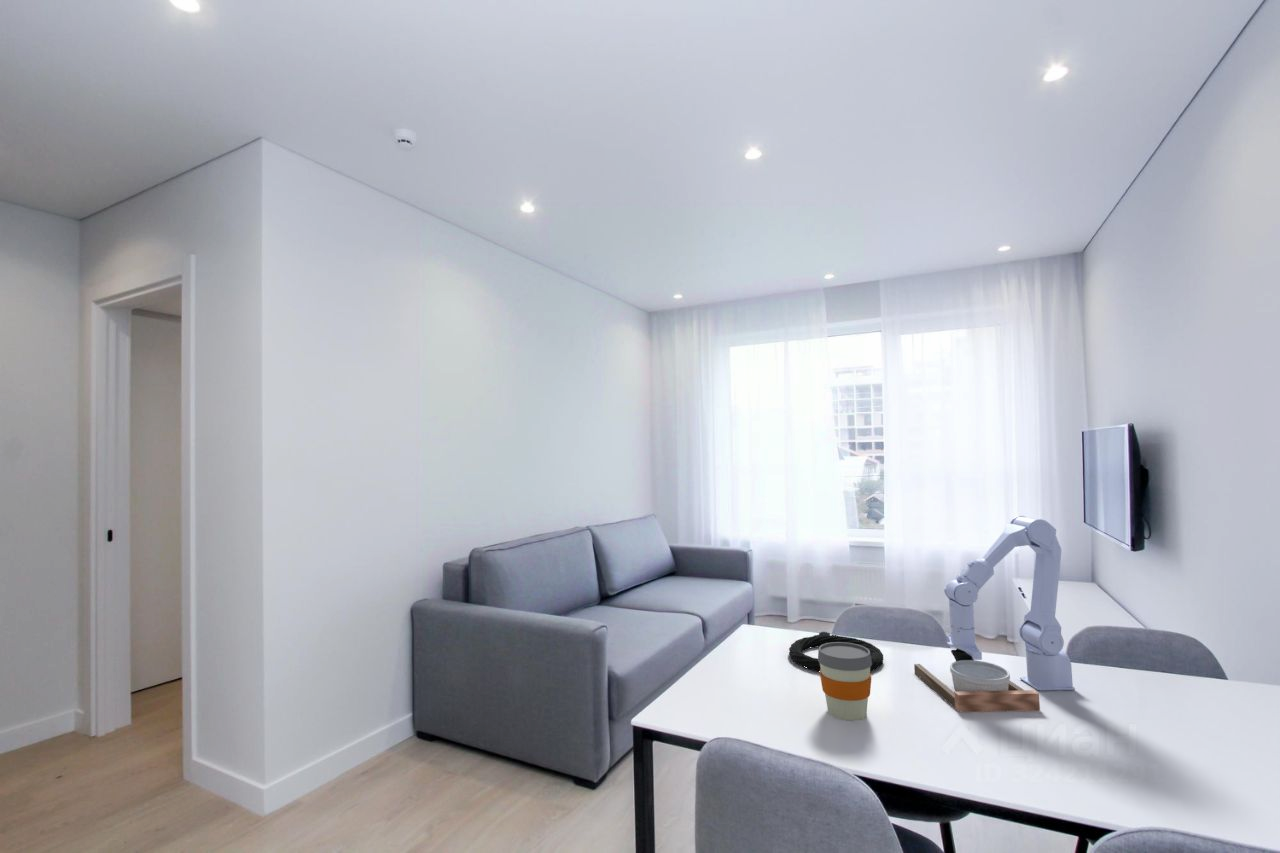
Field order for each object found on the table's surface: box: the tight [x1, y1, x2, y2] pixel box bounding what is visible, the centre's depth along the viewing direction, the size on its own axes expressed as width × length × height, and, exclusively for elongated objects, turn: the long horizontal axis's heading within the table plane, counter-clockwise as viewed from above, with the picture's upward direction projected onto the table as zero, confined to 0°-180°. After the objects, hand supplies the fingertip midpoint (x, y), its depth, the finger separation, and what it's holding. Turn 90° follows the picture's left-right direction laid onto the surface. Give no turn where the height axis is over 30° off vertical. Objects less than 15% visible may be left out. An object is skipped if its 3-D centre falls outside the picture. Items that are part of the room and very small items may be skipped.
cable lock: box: [788, 631, 884, 673], centre depth 181 cm, size 28×4×30 cm
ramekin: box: [949, 660, 1011, 692], centre depth 149 cm, size 13×13×7 cm
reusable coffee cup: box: [817, 642, 872, 722], centre depth 144 cm, size 12×12×15 cm
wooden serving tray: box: [913, 663, 1041, 713], centre depth 153 cm, size 19×25×4 cm
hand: (965, 677), depth 157 cm, fingers closed
